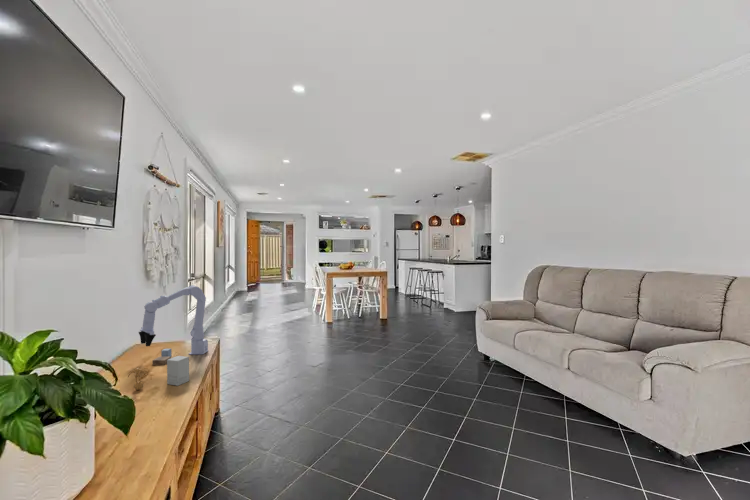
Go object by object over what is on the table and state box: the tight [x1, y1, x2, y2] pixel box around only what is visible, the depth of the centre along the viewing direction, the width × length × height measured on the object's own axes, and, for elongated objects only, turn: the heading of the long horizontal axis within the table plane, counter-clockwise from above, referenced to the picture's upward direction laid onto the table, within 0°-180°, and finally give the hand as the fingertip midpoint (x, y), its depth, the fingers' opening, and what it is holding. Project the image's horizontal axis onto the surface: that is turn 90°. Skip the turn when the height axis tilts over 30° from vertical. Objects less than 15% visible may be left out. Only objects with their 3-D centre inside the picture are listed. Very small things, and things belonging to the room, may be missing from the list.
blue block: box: [160, 348, 172, 358], centre depth 224 cm, size 4×4×5 cm
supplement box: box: [166, 355, 190, 387], centre depth 184 cm, size 7×7×13 cm
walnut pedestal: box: [151, 356, 172, 366], centre depth 214 cm, size 7×7×3 cm
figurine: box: [127, 366, 149, 391], centre depth 173 cm, size 8×6×12 cm
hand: (145, 344), depth 215 cm, fingers open, 7 cm apart
